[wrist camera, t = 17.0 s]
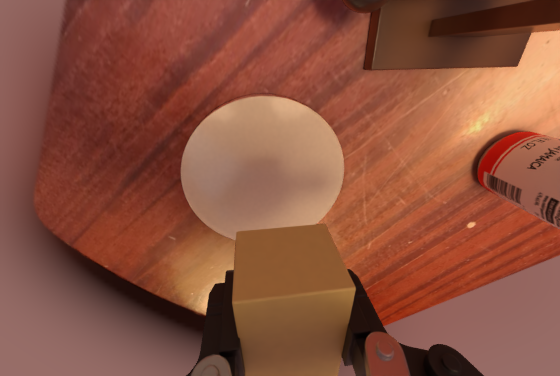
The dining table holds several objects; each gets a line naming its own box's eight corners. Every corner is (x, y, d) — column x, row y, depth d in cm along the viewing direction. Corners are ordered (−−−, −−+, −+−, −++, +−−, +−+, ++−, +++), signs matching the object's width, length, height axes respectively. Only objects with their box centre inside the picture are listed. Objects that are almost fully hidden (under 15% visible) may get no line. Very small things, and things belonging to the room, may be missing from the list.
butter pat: (247, 315, 13) (247, 393, 10) (235, 230, 10) (231, 303, 7) (317, 307, 14) (338, 379, 11) (325, 222, 11) (357, 288, 8)
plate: (199, 242, 24) (197, 250, 23) (165, 96, 18) (160, 99, 16) (332, 229, 26) (336, 236, 25) (348, 90, 19) (354, 92, 18)
